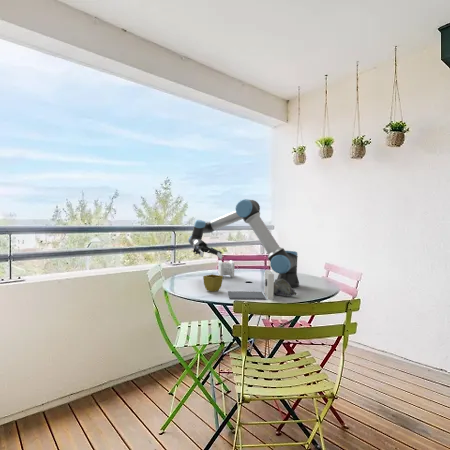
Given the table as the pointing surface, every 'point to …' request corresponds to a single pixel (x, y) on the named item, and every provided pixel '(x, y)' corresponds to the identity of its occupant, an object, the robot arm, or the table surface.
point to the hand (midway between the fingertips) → (212, 256)
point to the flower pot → (212, 282)
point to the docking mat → (246, 295)
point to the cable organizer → (226, 268)
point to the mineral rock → (283, 288)
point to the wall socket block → (269, 284)
